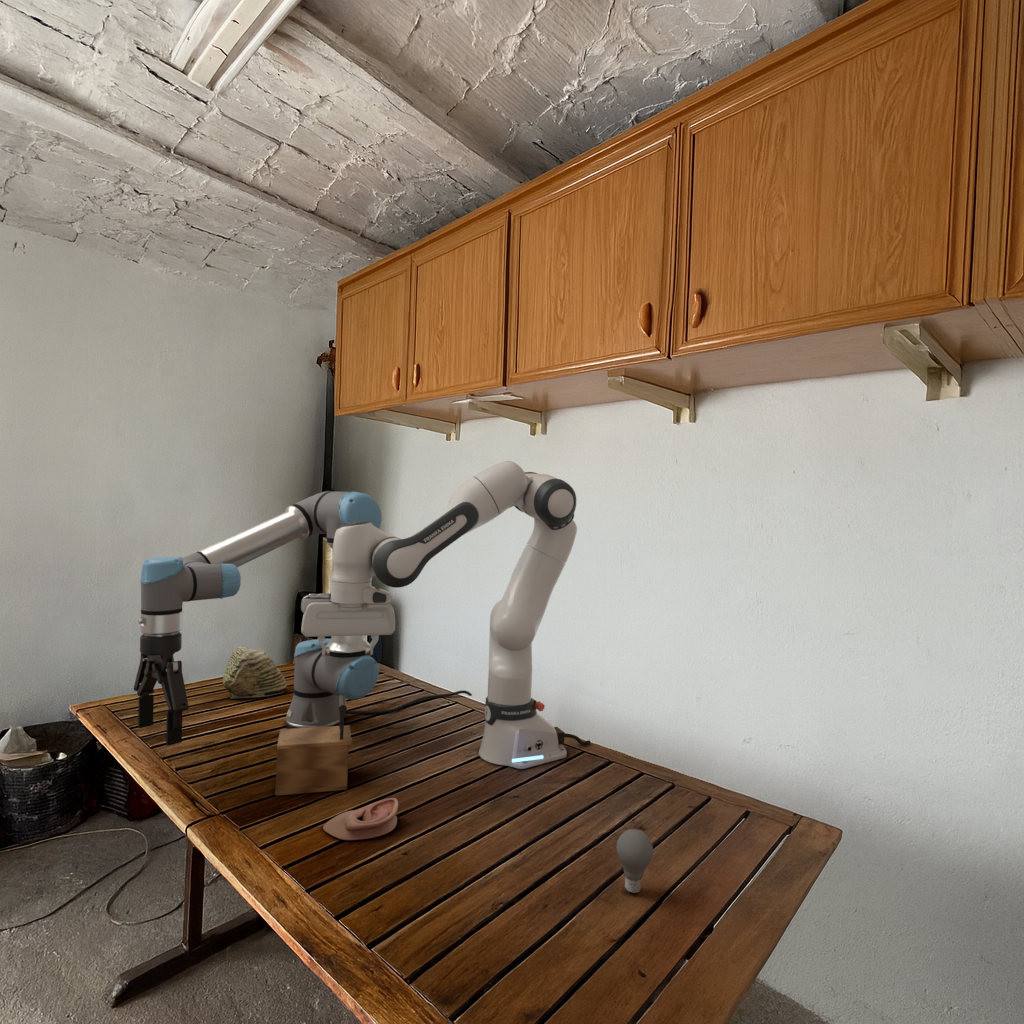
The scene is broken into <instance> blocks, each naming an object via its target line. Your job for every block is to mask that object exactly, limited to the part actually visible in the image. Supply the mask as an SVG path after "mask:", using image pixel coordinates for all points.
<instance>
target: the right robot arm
mask: <svg viewBox="0 0 1024 1024" xmlns="http://www.w3.org/2000/svg"><path fill="white" fill-rule="evenodd" d="M513 507H514V508H515V509H517V510H518V511H519V512H522V513H524V514H525V515H527V516H528V517H531V518H533V523H534V524H533V529H532V533H531V534H530V536H529V538H528V540H527V542H526V544H525V547H524V548H523V551H522V552H521V554H520V557H519V559H518V560H517V563H516V565H515V567H514V568H513V571H512V574H511V576H510V579H509V582H508V584H507V586H506V589H505V591H504V593H503V596H502V598H501V599H500V600H498V601H497V602H496V603H495V604H494V606H492V609H491V611H490V616H489V642H488V643H489V644H488V646H489V647H488V675H487V676H488V677H487V695H486V697H485V706H484V722H485V723H484V730H483V735H482V739H481V743H480V747H479V749H478V756H479V757H480V758H481V759H482V760H484V761H485V762H488V763H490V764H494V765H499V766H506V767H511V768H515V769H518V770H524V769H525V770H526V769H529V768H532V767H535V766H540V765H544V764H547V763H551V762H554V761H558V760H561V759H565V758H567V757H568V752H567V748H566V747H565V746H564V744H565V738H569V739H573V740H575V741H576V742H577V743H578V744H579V745H581V746H588V745H591V744H592V743H591V740H590V739H589V740H588V739H587V740H582V739H581V738H580V737H579V736H578V735H575V734H572V733H565V731H563V730H562V729H560V728H559V727H558V726H553V724H551V723H550V722H549V721H548V720H546V718H544V717H543V716H541V715H540V714H539V713H538V712H543V711H544V710H545V707H546V706H545V704H544V703H543V702H541V701H537V700H536V699H534V698H532V686H533V685H532V684H533V642H534V639H535V637H536V635H537V632H538V630H539V627H540V625H541V623H542V620H543V618H544V616H545V613H546V610H547V607H548V604H549V602H550V598H551V596H552V593H553V591H554V588H555V587H556V585H557V583H558V580H559V579H560V576H561V574H562V572H563V571H564V568H565V566H566V563H567V562H568V559H569V557H570V555H571V553H572V549H573V547H574V544H575V540H576V536H577V532H578V526H577V524H576V522H575V520H574V518H575V511H576V508H577V493H576V492H575V490H574V488H573V487H572V486H571V485H570V484H569V483H568V482H567V481H565V480H563V479H561V478H557V477H555V476H553V475H549V474H545V473H537V472H534V471H524V469H523V468H522V467H521V466H520V465H519V464H517V463H516V462H515V461H511V460H505V461H501V462H499V463H496V464H494V465H492V466H490V467H488V468H486V469H484V470H482V471H480V472H478V473H476V474H475V475H473V476H472V477H470V478H469V479H467V480H466V481H465V482H463V483H462V484H461V485H460V486H459V487H457V488H456V490H454V492H452V493H451V495H450V497H449V500H448V504H447V506H446V509H445V510H444V512H442V514H441V515H439V516H438V517H437V518H435V519H434V520H433V521H431V522H430V523H429V524H427V525H426V526H424V527H423V528H421V529H420V530H419V531H416V533H414V534H413V535H411V536H408V537H405V538H401V537H397V536H395V535H392V534H389V533H388V532H385V531H383V530H382V529H381V528H379V529H378V528H377V527H375V526H374V525H373V524H372V523H371V522H368V521H356V522H349V523H345V524H343V525H341V526H340V527H339V528H338V529H337V530H336V533H335V536H334V542H333V550H332V552H331V553H332V554H331V563H332V565H333V574H331V577H330V588H329V589H330V590H329V592H328V593H309V594H308V595H305V596H304V597H303V598H302V599H301V601H300V610H301V613H302V614H303V615H302V621H301V628H300V629H301V630H300V632H301V634H302V635H303V636H304V637H306V638H315V637H317V639H318V642H319V644H320V646H321V647H322V657H325V656H329V652H330V648H329V647H325V645H324V644H323V642H322V641H325V639H326V637H331V636H362V635H365V636H370V638H371V639H372V640H371V641H370V642H369V644H370V645H369V646H366V647H365V649H366V650H365V654H366V655H370V656H373V655H374V648H375V646H376V645H377V643H378V641H379V638H380V636H391V635H393V633H395V631H396V615H395V609H394V607H393V605H392V604H391V602H392V595H391V593H390V592H389V591H388V590H385V589H383V588H379V587H378V586H373V585H372V581H373V578H374V577H376V578H377V579H378V580H379V581H380V582H381V583H382V584H383V585H385V586H387V587H390V588H394V589H395V588H404V587H407V586H409V585H411V584H412V583H414V582H415V581H416V580H417V578H418V577H419V576H420V574H421V573H422V571H423V569H424V568H425V566H426V565H427V564H428V562H429V561H430V560H432V559H433V558H434V557H435V556H436V555H438V554H440V553H441V552H443V550H445V549H446V548H447V547H449V546H450V545H451V544H453V543H455V542H456V541H457V540H459V539H460V538H462V536H465V535H466V534H468V533H470V532H472V531H474V530H476V529H478V528H480V527H482V526H484V525H486V524H488V523H489V522H491V521H492V520H494V519H495V518H497V517H499V516H500V515H501V514H503V513H504V512H506V511H507V510H508V509H510V508H513ZM537 711H538V712H537Z"/></svg>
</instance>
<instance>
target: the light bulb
mask: <svg viewBox="0 0 1024 1024" xmlns="http://www.w3.org/2000/svg"><path fill="white" fill-rule="evenodd" d="M615 849H616V854H617V857H618V859H619V861H620V863H621V865H622V867H623V873H624V874H623V875H624V876H625V878H624V888H625V890H627V891H628V892H630V893H634V894H635V893H639V892H640V891H641V889H642V887H641V886H642V879H643V877H644V875H645V871H646V868H647V867H648V866H649V864H650V863H651V861H652V859H653V855H654V847H653V843H652V841H651V838H649V836H648V835H647V834H646V833H645V832H643V831H642V830H641V829H636V828H629V829H627V830H625V831H623V832H622V833H621V834H620V835H619V837H618V839H617V841H616V847H615Z"/></svg>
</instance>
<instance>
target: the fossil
mask: <svg viewBox="0 0 1024 1024" xmlns="http://www.w3.org/2000/svg"><path fill="white" fill-rule="evenodd" d="M222 676H223V677H222V685H223V687H224V688H225V690H226V691H228V693H229V698H230V699H250V698H264V697H271V696H275V695H281V694H284V693H285V691H286V689H287V687H288V686H287V680H286V678H285V676H284V674H283V673H282V672H281V669H279V668H278V667H277V665H276V663H275V662H274V660H273V659H272V658H271V657H270V656H269V655H268V654H267V653H266V652H265V650H264V649H263V648H260V647H258V648H251V647H247V646H246V647H245V646H238V647H237V648H236V649H235V650H233V651H232V653H231V656H230V657H229V659H228V660H227V663H226V666H225V668H224V671H223V675H222Z"/></svg>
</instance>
